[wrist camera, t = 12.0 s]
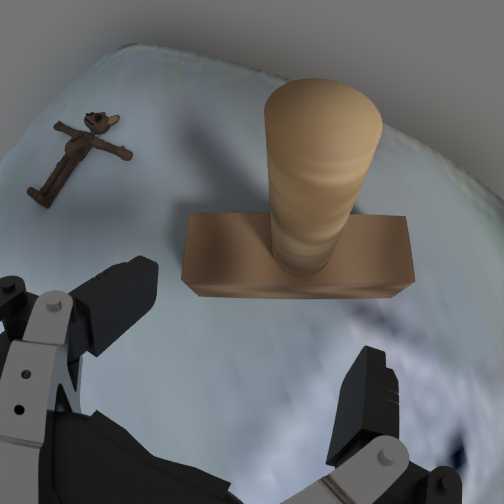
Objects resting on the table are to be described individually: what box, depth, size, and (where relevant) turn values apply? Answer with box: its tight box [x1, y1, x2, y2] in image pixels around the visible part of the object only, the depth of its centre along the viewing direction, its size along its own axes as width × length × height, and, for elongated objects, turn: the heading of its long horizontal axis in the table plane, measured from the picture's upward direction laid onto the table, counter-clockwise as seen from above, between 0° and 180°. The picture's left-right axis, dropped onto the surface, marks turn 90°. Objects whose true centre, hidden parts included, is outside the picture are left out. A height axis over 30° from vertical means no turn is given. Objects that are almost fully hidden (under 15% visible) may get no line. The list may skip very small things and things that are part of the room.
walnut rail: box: [181, 213, 415, 299], centre depth 23 cm, size 16×5×5 cm, turn 88°
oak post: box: [264, 79, 383, 277], centre depth 15 cm, size 4×4×12 cm
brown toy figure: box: [27, 112, 133, 209], centre depth 31 cm, size 18×4×14 cm
